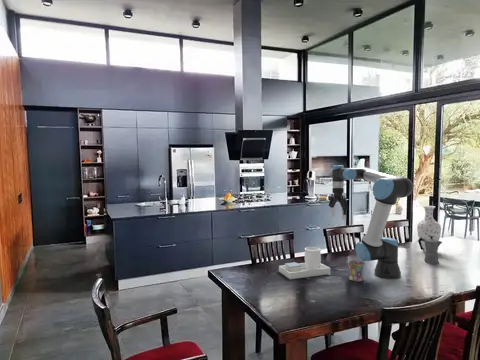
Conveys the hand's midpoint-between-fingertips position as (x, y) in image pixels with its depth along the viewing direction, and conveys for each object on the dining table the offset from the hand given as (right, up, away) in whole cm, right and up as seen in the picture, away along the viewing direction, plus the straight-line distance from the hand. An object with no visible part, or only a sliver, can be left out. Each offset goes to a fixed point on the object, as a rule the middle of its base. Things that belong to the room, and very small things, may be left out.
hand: (338, 218), depth 240 cm
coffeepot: (+65, -31, +2) cm, 71 cm away
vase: (+78, -29, +28) cm, 88 cm away
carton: (-35, -33, -22) cm, 53 cm away
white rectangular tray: (-27, -33, -20) cm, 47 cm away
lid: (-35, -27, -23) cm, 50 cm away
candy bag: (+1, -34, -32) cm, 46 cm away
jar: (-21, -32, -18) cm, 43 cm away
